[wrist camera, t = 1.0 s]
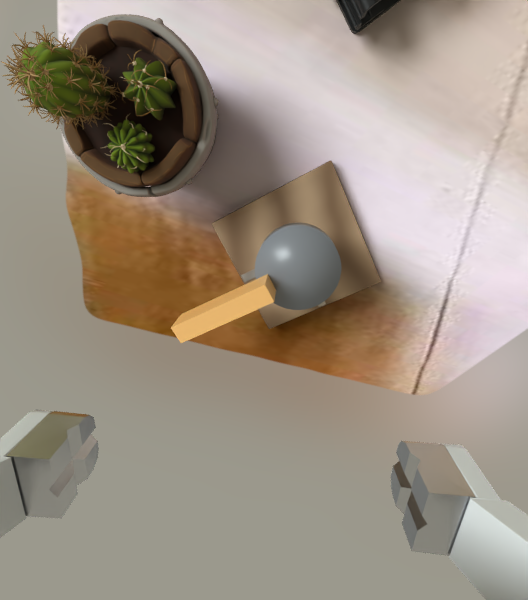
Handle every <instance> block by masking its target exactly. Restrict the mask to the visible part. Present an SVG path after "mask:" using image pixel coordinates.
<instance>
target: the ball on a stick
mask: <svg viewBox="0 0 528 600" xmlns="http://www.w3.org/2000/svg"><path fill="white" fill-rule="evenodd" d="M255 276H256V280H254V281H252V282H249V283H247V284H245V285H243V286H241V287H239V288H237V289H234V290H232V291H230V292H228V293H226V294H224V295H222V296H219V297H217V298H215V299H213V300H211V301H209V302H206V303H204V304H202V305H200V306H198V307H196V308H194V309H191V310H189V311H187V312H185V313H183V314H181V315H180V317H179V318H178V319H177V320H176V322H175V323H174V324H173V326H172V327H171V329H172V330H173V332H174V333H175V335H176V336H177V338H178V339H179V341H180V343H182V342H184V341H187V340H189V339H192V338H194V337H196V336H198V335H201V334H203V333H205V332H207V331H210V330H212V329H214V328H217V327H219V326H221V325H223V324H226V323H228V322H230V321H232V320H235V319H237V318H239V317H241V316H244V315H246V314H248V313H251V312H253V311H255V310H257V309H260V308H262V307H264V306H266V305H269V304H271V303H274V304H276V305H278V306H280V307H283V308H286V309H291V310H305V309H309V308H312V307H315V306H317V305H319V304H321V303H322V302H324V301H325V300H326V299H328V298H329V297H330V296H331V294H332V293H333V292H334V290H335V289H336V287H337V285H338V283H339V280H340V276H341V260H340V256H339V253H338V251H337V249H336V247H335V245H334V243H333V241H332V240H331V238H330V237H329V236H328V235H327V234H326V233H325V232H324V231H323V230H321V229H320V228H318V227H316V226H314V225H311V224H307V223H289V224H285V225H283V226H280V227H279V228H277V229H275V230H274V231H273V232H271V233H270V234H269V235H268V236H267V237H266V239H265V240H264V242H263V243H262V245H261V247H260V250H259V252H258V255H257V257H256V261H255Z"/></svg>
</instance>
